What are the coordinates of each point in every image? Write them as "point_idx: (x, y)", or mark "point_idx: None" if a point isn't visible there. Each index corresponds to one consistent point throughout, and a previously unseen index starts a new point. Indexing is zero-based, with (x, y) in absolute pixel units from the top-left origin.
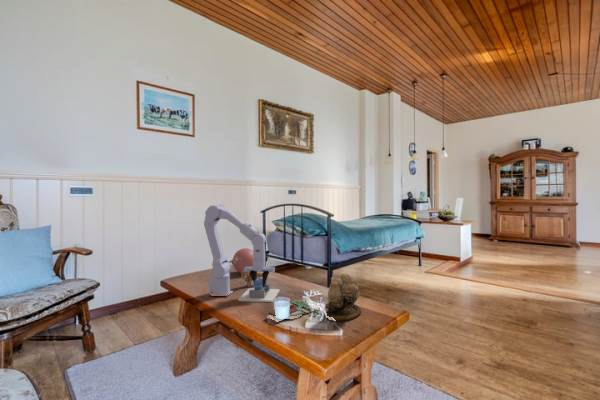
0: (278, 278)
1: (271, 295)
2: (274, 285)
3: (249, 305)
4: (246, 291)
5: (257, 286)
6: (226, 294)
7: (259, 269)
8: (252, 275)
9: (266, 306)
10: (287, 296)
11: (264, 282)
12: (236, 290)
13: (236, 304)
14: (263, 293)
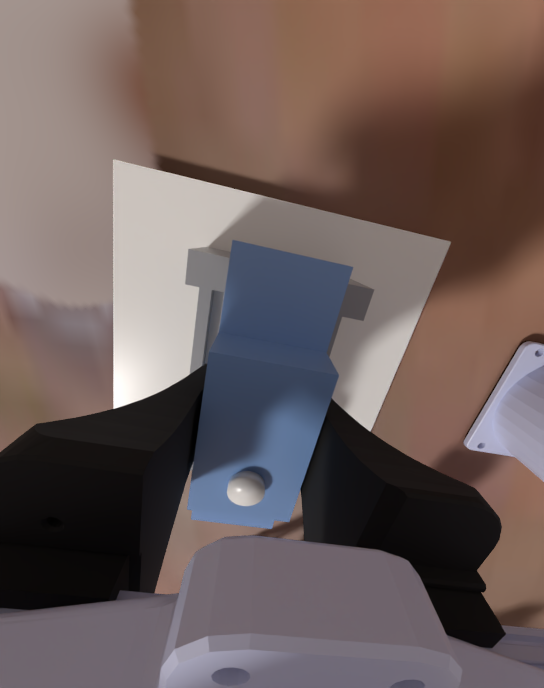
0: None
1: (151, 311)
2: (177, 528)
3: (345, 93)
4: (369, 422)
5: (275, 251)
6: (530, 374)
7: (169, 676)
8: (406, 473)
9: (162, 27)
10: (19, 312)
11: (180, 380)
12: (432, 467)
13: (469, 145)
14: (206, 250)
